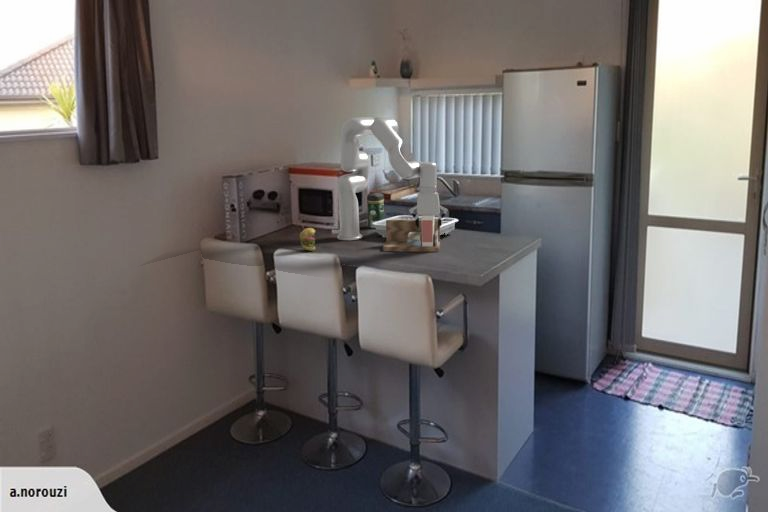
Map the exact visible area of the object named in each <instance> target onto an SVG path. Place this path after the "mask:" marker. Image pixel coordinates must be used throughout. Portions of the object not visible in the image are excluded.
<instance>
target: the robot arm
mask: <svg viewBox="0 0 768 512" xmlns="http://www.w3.org/2000/svg"><path fill="white" fill-rule="evenodd" d="M398 130H399V125H398V122H397V121H396V120H395V119H394V118H391V117H378V116H377V117H375V116H365V117H353V118H350V119H348V120H346V121H345V122H344V123H343V125H342V126H341V130H340V131H341V133H340V134H341V147H340V168H341V170H342V171H343V172H346V173H347V174H342V175H341V176H339V178H337V180H336V184H335V186H336V192H337V195H338V196H337V197H338V209H339V211H338V213H339V229H331V234H332V235H337V236H336V238H337V240H340V241H356V240H357V241H359V240H362V239H363V238H364V237H363V234H361V233H360V217H359V215H360V213H359V212H360V211H359V201H358V197H357V195H356V193H361V192H364V191H365V190H366V189H367V188H368V184H369V174H370V159H369V156H368V154H367V153H366V152H364V151H362V150H360V141H359V138H358V137H361V136H364V137H365V136H374V137H375V138H376V139H377V141H378V142H379V143H380V144H381V146H382V147H383V148H384V150H385V151H386V152H387V157H388V160H389V164H390V166H391V168H392V169H393V171H395V173H396V174H397V175H398V176H399V177H400V178H401V179H403V180H411V179H416V178H419V186H418V187H416V191H417V192H418V194H417V201H416V205H414V206H412V207H411V208H409V210H408V211H409V213H410V216H413V217H414V218H415V225H416V226H417V228H419V218H418V217H419V216H422V215H433V216H434V217H437V218H439V219H438V228H440V226H441V219H442V218H445V216H446V215H447V213H448V211H449V210H448V208H446V207H444V206H442V205H441V204H440V195H439V192H437V191H438V189H437V187H438V186H437V185H438V184H437V182H438V181H437V177H438V176H437V175H438V174H437V173H438V172H437V164H436V162H432V161H426V162H424V161H420V160H413V161H412V160H411V161H407V160H406V158H404V156H403V155H402V153H401V150H400V149H401V147H402V146H403V144H404V143H403V139H402V138H401V137H400V136H399V135H398ZM415 210H416V213H415V212H414V211H415ZM440 210H441V211H443V212H442V214H440V213H441V211H440Z"/></svg>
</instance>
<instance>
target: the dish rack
mask: <svg viewBox="0 0 768 512" xmlns="http://www.w3.org/2000/svg"><path fill="white" fill-rule="evenodd" d="M418 218H419V220H422V216H419V217H418ZM438 219H439V218H438V217H437V216H434V220H438ZM386 220H415V218H414V217H413V216H412V215H396V216H395V215H394V216H391V217H388V218H384V219H383V220H380V221H376V222H373V223H372V224H373V225H375V226H376V228H375V232H376V233H377V234H378V235H381V237H382V238H386ZM457 222H459V219H458V218H453V217H443V218H442V219H441V226H440V236H441V235H445V236H447V234H448V235H449V233H450V232H452V231H454V230H455V228H456V227H455V224H456V223H457ZM444 233H445V234H444Z"/></svg>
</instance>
